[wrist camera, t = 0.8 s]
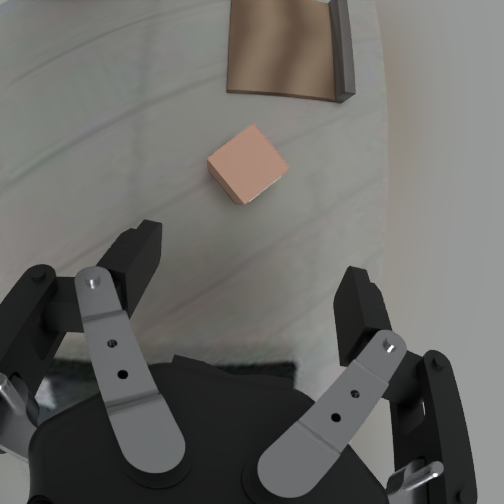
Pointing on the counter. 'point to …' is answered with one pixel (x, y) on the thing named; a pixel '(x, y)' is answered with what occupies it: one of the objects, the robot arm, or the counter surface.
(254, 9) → the shelf board
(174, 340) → the counter surface
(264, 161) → the carton
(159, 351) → the counter surface
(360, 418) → the robot arm
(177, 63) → the counter surface
